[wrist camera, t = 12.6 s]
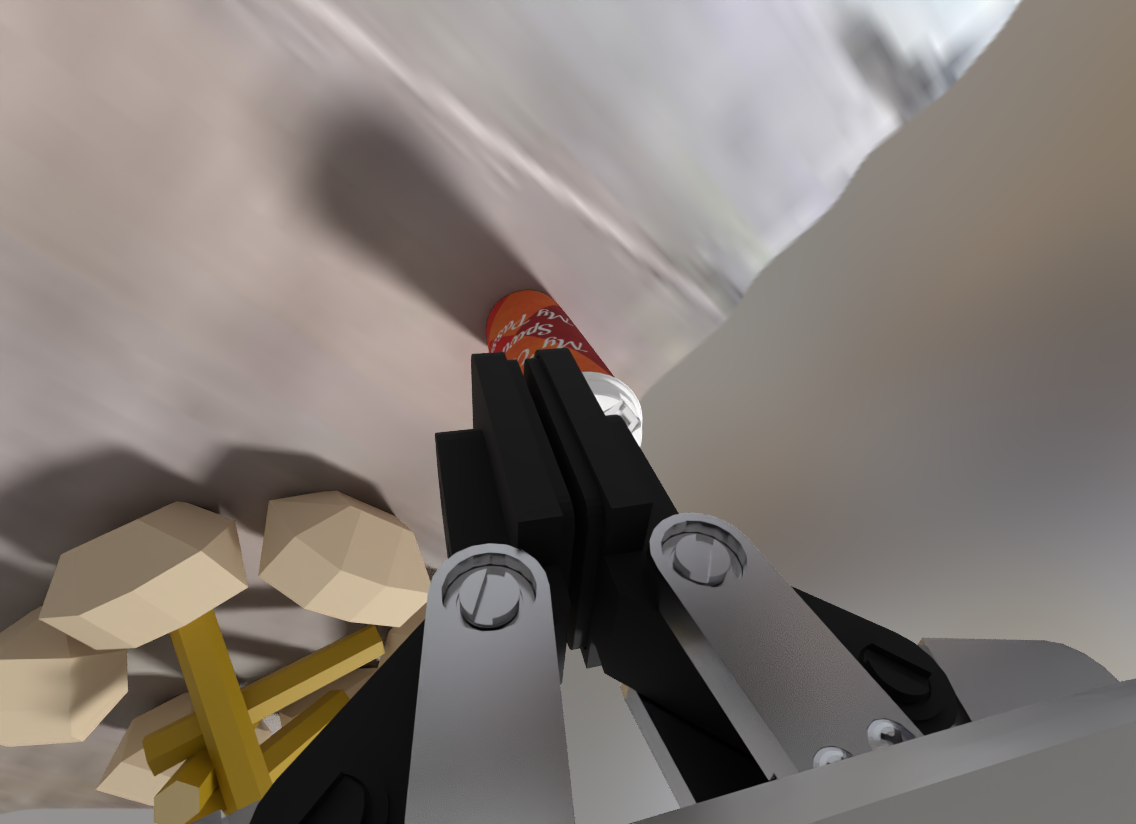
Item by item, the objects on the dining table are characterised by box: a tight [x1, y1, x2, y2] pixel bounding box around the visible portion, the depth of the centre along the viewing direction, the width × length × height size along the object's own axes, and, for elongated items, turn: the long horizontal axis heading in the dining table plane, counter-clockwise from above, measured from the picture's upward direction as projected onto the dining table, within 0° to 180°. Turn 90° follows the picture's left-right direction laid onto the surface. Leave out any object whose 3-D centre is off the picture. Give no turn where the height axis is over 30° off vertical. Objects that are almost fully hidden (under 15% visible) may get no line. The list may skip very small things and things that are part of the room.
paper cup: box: [486, 290, 642, 447], centre depth 34 cm, size 8×8×14 cm
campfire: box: [0, 491, 431, 824], centre depth 44 cm, size 35×34×17 cm
